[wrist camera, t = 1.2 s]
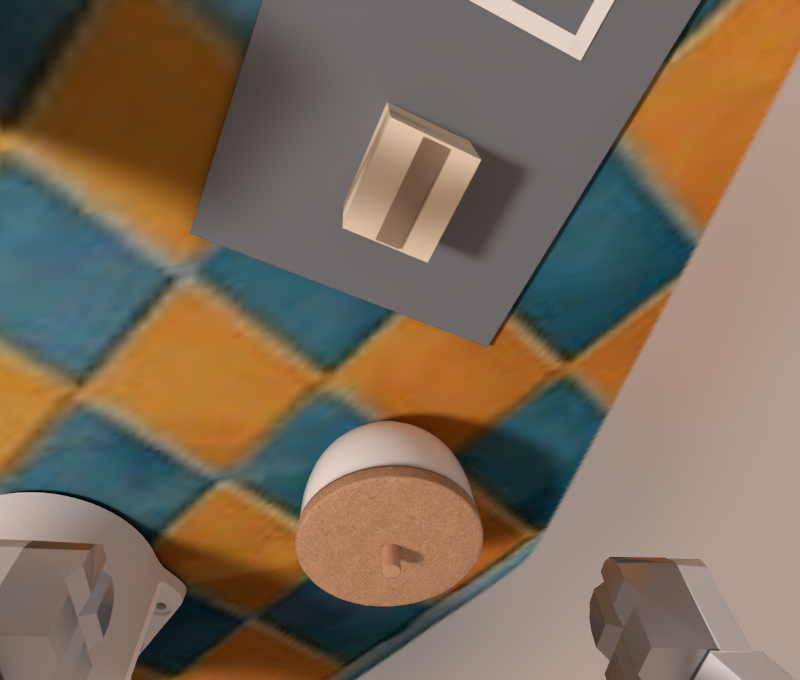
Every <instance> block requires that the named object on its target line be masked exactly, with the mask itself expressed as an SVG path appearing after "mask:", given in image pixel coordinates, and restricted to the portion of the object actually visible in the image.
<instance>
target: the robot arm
mask: <svg viewBox="0 0 800 680" xmlns="http://www.w3.org/2000/svg"><path fill="white" fill-rule="evenodd" d="M601 573H602V576H603V579H604V582H603V583H602V584H601V585H599V586H598V587H596V588H595V589H594V591H593V594H592V597H591V601H590V624H591V630H592V635H593V638H594V641H595V644H596V647H597V649H599V651H600V652H602V653H603V654H604V655H605V656H606V657H607V658H608V659H609V660H610V662H609V665H608V667H607V669H606V672H605V676H606V680H796V679H795V678H793V677H792V676H791V675H790V674H789V673H787V672H786V671H785V670H784V669H783V668H781V667H780V666H779V665H778V664H776V663H775V662H774V661H772V659H770V658H769V657H768V656H766V655H765V654H764V653H763V652H758V651H752V649H751V647H750V645H749V643H748V641H747V639H746V638H745V636H744V634H743V632H742V630H741V628H740V627H739V625H738V623H737V621H736V619H735V618H734V616H733V614H732V612H731V610H730V608H729V607H728V605H727V603H726V601H725V599H724V598H723V596H722V594H721V592H720V590H719V588H718V586H717V585H716V583H715V581H714V579H713V577H712V575H711V574H710V572H709V570H708V568H707V566H706V565H705V564H704V563H703V562H702V561H701V560H700V559H667V558H647V557H609V558H608V559H607V560H606V561H605V562H604V565H603V567H602V570H601ZM186 592H187V589H186V586H185V585H184V584H183V583H182V582H181V581H180V580H179V579H178V578H177V577H176V576H174V575H173V574H172V573H170V572H169V571H168V570H166V569H165V568H164V567H163V566H162V565H161V564H160V562H159V560H158V559H157V557H156V555H155V553H154V551H153V549H152V548H151V546H150V545H149V543H148V542H147V541H146V539H145V538H144V537H143V536H142V535H141V534H140V533H139V532H138V531H137V530H136V529H135V528H134V527H133V526H131V525H130V524H129V523H128V522H126V521H125V520H123V519H122V518H120V517H119V516H117V515H115V514H114V513H112V512H110V511H108V510H106V509H104V508H102V507H99V506H97V505H94V504H92V503H89V502H86V501H83V500H80V499H76V498H73V497H68V496H63V495H58V494H51V493H40V492H20V493H10V494H4V495H0V680H132V678H131V676H132V673H133V670H134V667H135V664H136V661H137V659H138V656H139V655H140V654H141V652H142V651H143V650H144V649H145V648H146V646H147V645H148V644H149V643H150V642H151V640H152V639H153V638H154V637H155V636H156V634H157V633H158V632H159V631H160V630H161V628H162V627H163V626H164V625H165V624H166V622H167V621H168V620H169V619H170V618H171V616H172V615H173V614H174V613H175V611H176V610H177V609H178V608H179V607H180V605H181V604H182V602H183V600H184V597H185V595H186Z"/></svg>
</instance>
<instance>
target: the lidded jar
mask: <svg viewBox="0 0 800 680" xmlns="http://www.w3.org/2000/svg"><path fill="white" fill-rule="evenodd" d="M482 545H483V526H482V522H481V518H480V514H479V511H478V509H477V507H476V505H475V501H474V497H473V493H472V490H471V486H470V484H469V481H468V479H467V476H466V474H465V472H464V470H463V468H462V466H461V465H460V463H459V461H458V459H457V458H456V457H455V455H454V454H453V453H452V451H451V450H450V449H449V448H448V447H447V446H446V445H445V444H444V443H443V442H442V441H441V440H440V439H439V438H437V437H436V436H434V435H433V434H431V433H429V432H428V431H426V430H424V429H422V428H419V427H417V426H414V425H411V424H407V423H402V422H398V421H387V420H384V421H376V422H371V423H368V424H365V425H362V426H360V427H357V428H354V429H352V430H350V431H349V432H347V433H345V434H344V435H342V436H341V437H339V438H338V439H337V440H335V441H334V442H333V443H332V444H331V445H330V446H329V447H328V448H327V449H326V450H325V451H324V453H323V454H322V455H321V457H320V458H319V460H318V461H317V463H316V464H315V466H314V468H313V471H312V473H311V475H310V477H309V480H308V482H307V485H306V489H305V492H304V497H303V501H302V507H301V513H300V518H299V522H298V527H297V531H296V553H297V557H298V560H299V562H300V564H301V567H302V569H303V570H304V571H305V573H306V574H307V575H308V577H309V578H310V579H311V580H312V581H313V582H314V583H315V584H316V585H317V586H319V587H320V588H322V589H323V590H325V591H326V592H328V593H330V594H332V595H334V596H336V597H338V598H340V599H343V600H346V601H349V602H353V603H357V604H362V605H370V606H398V605H406V604H411V603H416V602H420V601H423V600H426V599H429V598H432V597H434V596H436V595H439V594H441V593H443V592H445V591H446V590H448V589H450V588H451V587H453V586H454V585H455V584H457V583H458V582H459V581H461V580H462V579H463V578H464V577H465V576H466V575H467V574H468V572H469V571H470V570H471V569H472V567H473V566H474V564H475V563H476V562H477V560H478V557H479V555H480V553H481V550H482Z"/></svg>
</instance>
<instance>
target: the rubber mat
mask: <svg viewBox="0 0 800 680" xmlns="http://www.w3.org/2000/svg"><path fill="white" fill-rule="evenodd" d="M700 1H701V0H263V1H262V4H261V8H260V11H259V14H258V17H257V20H256V24H255V27H254V30H253V33H252V36H251V39H250V43H249V46H248V49H247V52H246V55H245V59H244V62H243V65H242V68H241V71H240V75H239V78H238V81H237V84H236V87H235V91H234V94H233V97H232V100H231V103H230V106H229V110H228V113H227V116H226V119H225V122H224V126H223V129H222V132H221V135H220V138H219V142H218V145H217V148H216V151H215V154H214V158H213V161H212V164H211V167H210V170H209V173H208V177H207V180H206V183H205V186H204V189H203V193H202V196H201V199H200V202H199V205H198V209H197V212H196V215H195V218H194V221H193V224H192V228H191V231H190V234H192V235H195V236H198V237H200V238H203V239H205V240H208V241H211V242H213V243H216V244H219V245H221V246H224V247H227V248H229V249H232V250H234V251H237V252H240V253H242V254H245V255H248V256H250V257H253V258H255V259H258V260H261V261H263V262H266V263H269V264H271V265H274V266H276V267H279V268H282V269H284V270H287V271H290V272H292V273H295V274H297V275H300V276H303V277H305V278H308V279H311V280H313V281H316V282H318V283H321V284H324V285H326V286H329V287H332V288H334V289H337V290H339V291H342V292H345V293H347V294H350V295H353V296H355V297H358V298H360V299H363V300H366V301H368V302H371V303H374V304H376V305H379V306H381V307H384V308H387V309H389V310H392V311H395V312H397V313H400V314H402V315H405V316H408V317H410V318H413V319H416V320H418V321H421V322H423V323H426V324H429V325H431V326H434V327H437V328H439V329H442V330H444V331H447V332H450V333H452V334H455V335H458V336H460V337H463V338H465V339H468V340H471V341H473V342H476V343H479V344H481V345H484V346H487V347H488V345H489V344H490V342H491V340H492V339H493V337H494V335H495V334H496V332H497V331H498V329H499V327H500V326H501V324H502V322H503V321H504V319H505V318H506V316H507V314H508V313H509V311H510V309H511V308H512V306H513V305H514V303H515V301H516V300H517V298H518V296H519V295H520V293H521V292H522V290H523V288H524V287H525V285H526V284H527V282H528V280H529V279H530V277H531V275H532V274H533V272H534V271H535V269H536V267H537V266H538V264H539V262H540V261H541V259H542V258H543V256H544V254H545V253H546V251H547V249H548V248H549V246H550V245H551V243H552V241H553V240H554V238H555V236H556V235H557V233H558V232H559V230H560V228H561V227H562V225H563V223H564V222H565V220H566V219H567V217H568V215H569V214H570V212H571V210H572V209H573V207H574V206H575V204H576V202H577V201H578V199H579V197H580V196H581V194H582V193H583V191H584V189H585V188H586V186H587V185H588V183H589V181H590V180H591V178H592V176H593V175H594V173H595V172H596V170H597V168H598V167H599V165H600V163H601V162H602V160H603V159H604V157H605V155H606V154H607V152H608V150H609V149H610V147H611V146H612V144H613V142H614V141H615V139H616V137H617V136H618V134H619V133H620V131H621V129H622V128H623V126H624V124H625V123H626V121H627V120H628V118H629V116H630V115H631V113H632V111H633V110H634V108H635V107H636V105H637V103H638V102H639V100H640V98H641V97H642V95H643V94H644V92H645V90H646V89H647V87H648V85H649V84H650V82H651V81H652V79H653V77H654V76H655V74H656V73H657V71H658V69H659V68H660V66H661V64H662V63H663V61H664V60H665V58H666V56H667V55H668V53H669V51H670V50H671V48H672V47H673V45H674V43H675V42H676V40H677V38H678V37H679V35H680V34H681V32H682V30H683V29H684V27H685V25H686V24H687V22H688V21H689V19H690V17H691V16H692V14H693V12H694V11H695V9H696V8H697V6H698V4H699V3H700ZM387 102H389V103H391V104H393V105H395V106H397V107H399V108H401V109H403V110H405V111H407V112H410V113H412V114H414V115H416V116H418V117H420V118H422V119H424V120H426V121H428V122H431V123H433V124H435V125H437V126H439V127H441V128H443V129H445V130H447V131H449V132H452V133H454V134H456V135H458V136H460V137H462V138H464V139H466V140H468V141H470V143H471V144H472V146H473V147H474V149H475V151H476V152H477V154H478V155H479V157H480V158H481V162H480V163H479V165H478V167H477V169H476V171H475V173H474V175H473V177H472V179H471V181H470V183H469V185H468V186H467V188H466V190H465V192H464V194H463V196H462V198H461V200H460V202H459V204H458V206H457V208H456V209H455V211H454V213H453V215H452V217H451V219H450V221H449V223H448V225H447V227H446V229H445V231H444V232H443V234H442V236H441V238H440V240H439V242H438V244H437V246H436V248H435V250H434V252H433V254H432V255H431V257H430V259H429V261H428V263H427V262H424V261H422V260H420V259H417V258H415V257H412V256H410V255H407V254H405V253H403V252H400V251H398V250H395V249H393V248H390V247H388V246H385V245H383V244H381V243H378V242H376V241H373V240H371V239H368V238H366V237H363V236H361V235H359V234H356V233H354V232H351V231H349V230H346V229H344V228H342V226H343V207H344V202H345V199H346V197H347V195H348V192H349V190H350V188H351V185H352V183H353V181H354V178H355V176H356V174H357V171H358V169H359V167H360V164H361V162H362V160H363V157H364V155H365V153H366V150H367V148H368V146H369V143H370V141H371V139H372V136H373V134H374V132H375V129H376V127H377V125H378V122H379V120H380V118H381V115H382V113H383V111H384V108H385V106H386V104H387Z"/></svg>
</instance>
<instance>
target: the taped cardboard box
mask: <svg viewBox="0 0 800 680" xmlns="http://www.w3.org/2000/svg"><path fill="white" fill-rule="evenodd" d="M480 162H481V158H480V157H479V155H478V154H477V152H476V151H475V149H474V147H473V146H472V144H471V143H470V141H468V140H466V139H464V138H462V137H460V136H458V135H456V134H454V133H452V132H449V131H447V130H445V129H443V128H441V127H439V126H437V125H435V124H433V123H431V122H428V121H426V120H424V119H422V118H420V117H418V116H416V115H414V114H412V113H410V112H407V111H405V110H403V109H401V108H399V107H397V106H395V105H393V104H391V103H389V102H387V104H386V106H385V108H384V111H383V113H382V115H381V118H380V120H379V122H378V125H377V127H376V129H375V132H374V134H373V136H372V139H371V141H370V143H369V146H368V148H367V150H366V153H365V155H364V157H363V160H362V162H361V164H360V167H359V169H358V171H357V174H356V176H355V178H354V181H353V183H352V185H351V188H350V190H349V192H348V195H347V197H346V199H345V202H344V207H343V226H342V228H344V229H346V230H349V231H351V232H354V233H356V234H359V235H361V236H363V237H366V238H368V239H371V240H373V241H376V242H378V243H381V244H383V245H385V246H388V247H390V248H393V249H395V250H398V251H400V252H403V253H405V254H407V255H410V256H412V257H415V258H417V259H420V260H422V261H424V262H427V263H428V261H429V259H430V257H431V255H432V254H433V252H434V250H435V248H436V246H437V244H438V242H439V240H440V238H441V236H442V234H443V232H444V231H445V229H446V227H447V225H448V223H449V221H450V219H451V217H452V215H453V213H454V211H455V209H456V208H457V206H458V204H459V202H460V200H461V198H462V196H463V194H464V192H465V190H466V188H467V186H468V185H469V183H470V181H471V179H472V177H473V175H474V173H475V171H476V169H477V167H478V165H479V163H480Z"/></svg>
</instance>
